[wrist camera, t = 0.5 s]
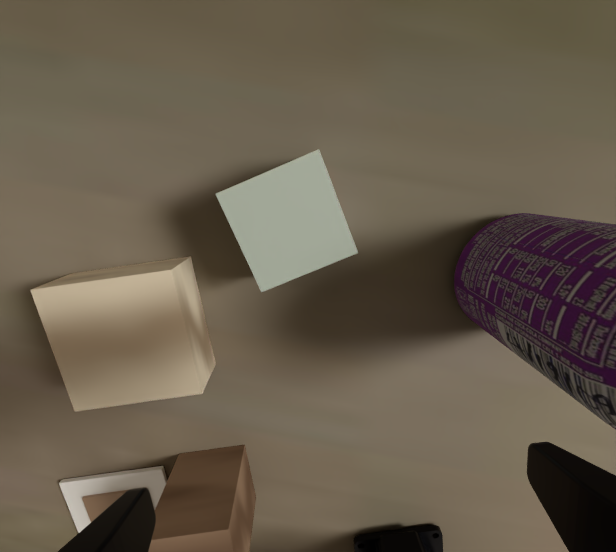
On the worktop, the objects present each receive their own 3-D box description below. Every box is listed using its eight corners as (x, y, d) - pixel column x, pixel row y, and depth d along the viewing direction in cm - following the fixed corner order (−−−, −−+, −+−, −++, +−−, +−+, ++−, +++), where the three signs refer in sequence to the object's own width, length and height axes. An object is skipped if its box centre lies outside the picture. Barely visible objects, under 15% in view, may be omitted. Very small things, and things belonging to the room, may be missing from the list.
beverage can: (542, 332, 22) (816, 497, 10) (435, 317, 22) (599, 473, 10) (581, 222, 20) (963, 273, 9) (466, 203, 20) (709, 229, 8)
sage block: (346, 240, 20) (358, 252, 16) (268, 271, 21) (261, 292, 17) (314, 156, 19) (318, 149, 15) (231, 192, 19) (215, 193, 15)
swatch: (185, 543, 25) (183, 550, 25) (91, 555, 25) (87, 563, 25) (163, 465, 24) (160, 471, 23) (61, 479, 24) (56, 485, 23)
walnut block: (255, 496, 25) (244, 592, 19) (193, 505, 25) (162, 604, 19) (244, 444, 23) (228, 529, 18) (179, 453, 23) (141, 541, 18)
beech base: (216, 361, 22) (202, 393, 19) (108, 376, 22) (74, 411, 19) (192, 255, 20) (171, 269, 17) (74, 272, 20) (30, 289, 17)
